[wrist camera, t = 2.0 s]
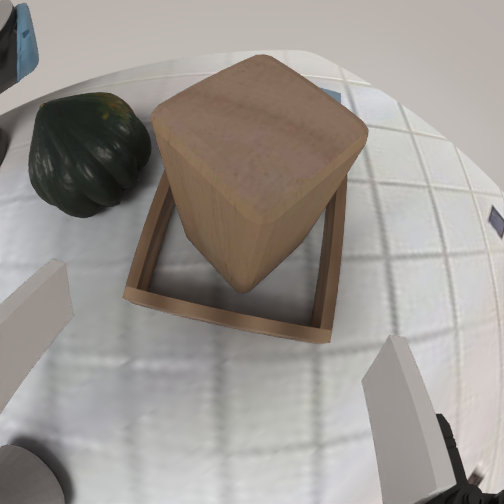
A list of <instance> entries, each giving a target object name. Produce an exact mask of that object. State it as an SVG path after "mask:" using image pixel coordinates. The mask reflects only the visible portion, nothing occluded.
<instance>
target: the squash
mask: <svg viewBox="0 0 504 504" xmlns="http://www.w3.org/2000/svg"><path fill="white" fill-rule="evenodd" d="M150 154H151V140H150V136H149V134H148V132H147V130H146V128H145V126H144V125H143V124H142V122H141V121H140V120H139V119H138V118H137V117H136V116H135V114H134V112H133V110H132V109H131V108H130V106H129V105H128V104H127V103H126V102H125V101H124V100H122V99H121V98H119V97H118V96H116V95H114V94H111V93H104V92H96V93H86V94H79V95H74V96H69V97H64V98H59V99H55V100H52V101H49V102H47V103H43V104H42V105H41V106H40V109H39V111H38V113H37V116H36V119H35V124H34V130H33V136H32V141H31V146H30V153H29V163H28V166H29V176H30V181H31V184H32V186H33V188H34V189H35V191H36V192H37V194H38V195H39V196H40V197H41V198H42V199H43V200H44V201H46V202H47V203H49V204H51V205H54V206H56V207H58V208H59V209H60V210H62V211H63V212H65V213H66V214H68V215H70V216H74V217H79V218H88V217H91V216H93V215H95V214H96V213H98V212H99V211H100V210H101V209H102V208H103V207H104V205H105V206H115V205H118V204H120V202H121V200H122V195H123V193H122V189H128V188H131V187H133V186H134V185H135V184H136V183H137V180H138V172H139V171H140V170H142V169H143V168H144V167H145V166H146V164H147V162H148V160H149V157H150Z"/></svg>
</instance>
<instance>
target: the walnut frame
mask: <svg viewBox="0 0 504 504" xmlns="http://www.w3.org/2000/svg"><path fill="white" fill-rule="evenodd" d="M346 191H347V174H346V176H345V177H344V179H343V181H342V182H341V184H340V185H339V187H338V188H337V190H336V192H335V193H334V195H333V196H332V198H331V199H330V201H329V202H328V204H327V205H326V214H325V224H324V233H323V241H322V249H321V257H320V265H319V273H318V280H317V287H316V294H315V300H314V307H313V313H312V319H311V326H310V327H308V326H302V325H297V324H291V323H286V322H280V321H275V320H270V319H265V318H260V317H255V316H250V315H245V314H240V313H236V312H231V311H226V310H222V309H217V308H213V307H208V306H204V305H200V304H195V303H191V302H187V301H183V300H178V299H174V298H170V297H166V296H162V295H158V294H154V293H151V292H148V290H149V286H150V282H151V279H152V275H153V271H154V268H155V264H156V261H157V257H158V254H159V251H160V247H161V244H162V241H163V237H164V234H165V231H166V228H167V225H168V221H169V218H170V215H171V212H172V209H173V206H174V203H175V200H174V197H173V194H172V191H171V187H170V184H169V181H168V178H167V174H166V171H165V170H164V173H163V175H162V178H161V180H160V183H159V186H158V188H157V191H156V194H155V196H154V199H153V202H152V205H151V207H150V210H149V213H148V216H147V219H146V222H145V225H144V228H143V231H142V234H141V237H140V240H139V243H138V246H137V249H136V252H135V256H134V259H133V262H132V266H131V269H130V272H129V276H128V279H127V283H126V286H125V290H124V294H123V298H124V299H126V300H128V301H130V302H131V303H133V304H136V305H140V306H143V307H147V308H151V309H155V310H158V311H162V312H166V313H170V314H174V315H178V316H182V317H186V318H190V319H194V320H199V321H203V322H207V323H212V324H216V325H221V326H225V327H230V328H235V329H239V330H244V331H249V332H254V333H259V334H264V335H270V336H275V337H280V338H286V339H292V340H298V341H304V342H310V343H316V344H322V343H330V339H331V333H332V327H333V320H334V313H335V306H336V298H337V291H338V282H339V274H340V265H341V255H342V245H343V234H344V221H345V207H346Z"/></svg>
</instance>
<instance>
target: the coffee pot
mask: <svg viewBox="0 0 504 504" xmlns="http://www.w3.org/2000/svg"><path fill="white" fill-rule="evenodd" d="M0 504H65V500H64V494H63V491H62V489H61V486H60V484H59V482H58V480H57V479H56V477H55V475H54V474H53V472H52V471H51V470H50V469H49V467H48V466H47V465H46V464H45V463H44V462H43V461H42V460H41V459H40V458H39V457H37V456H36V455H35V454H33V453H32V452H30V451H29V450H26V449H24V448H22V447H19V446H15V445H5V446H2V447H0Z"/></svg>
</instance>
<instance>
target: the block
mask: <svg viewBox="0 0 504 504" xmlns="http://www.w3.org/2000/svg"><path fill="white" fill-rule="evenodd" d="M151 122H152V126H153V130H154V133H155V137H156V140H157V144H158V147H159V151H160V154H161V158H162V161H163V164H164V168H165V171H166V174H167V178H168V181H169V184H170V187H171V191H172V194H173V197H174V200H175V203H176V206H177V209H178V213H179V216H180V219H181V222H182V225H183V228H184V231H185V234H186V237H187V238H188V239H189V240H190V241H191V243H192V244H193V245H194V246H195V247H196V248H197V249H198V250H199V251H200V253H201V254H202V255H203V256H204V257H205V258H206V259H207V260H208V261H209V262H210V263H211V265H212V266H213V267H214V268H215V269H216V270H217V271H218V272H219V273H220V274H221V275H222V276H223V278H224V279H225V280H226V281H227V282H228V283H229V284H230V285H231V286H232V287H233V288H234V289H235V290H236V291H237V292H240V293H242V294H244V293H247V292H249V291H251V290H252V289H253V288H254V287H255V286H256V285H257V284H258V283H259V282H260V281H261V280H263V279H264V278H265V277H266V276H267V275H268V274H269V273H270V272H271V271H272V270H273V269H274V268H276V267H277V266H278V265H279V264H280V263H281V262H282V261H283V260H284V259H285V258H286V257H287V256H288V255H290V254H291V253H292V252H293V251H294V250H295V249H296V248H297V247H298V246H299V245H300V244H301V243H302V242H303V240H304V239H305V237H306V236H307V234H308V233H309V231H310V230H311V228H312V227H313V225H314V224H315V222H316V221H317V219H318V218H319V216H320V215H321V213H322V212H323V210H324V209H325V207H326V205H327V204H328V202H329V201H330V199H331V198H332V196H333V195H334V193H335V192H336V190H337V188H338V187H339V185H340V184H341V182H342V181H343V179H344V177H345V176H346V174H347V173H348V171H349V170H350V168H351V166H352V165H353V163H354V162H355V160H356V158H357V157H358V155H359V154H360V152H361V150H362V149H363V147H364V146H365V144H366V141H367V137H368V131H369V130H368V128H367V126H366V125H365V123H364V122H363V121H362V120H361V119H360V118H358V117H357V116H356V115H355V114H353V113H352V112H351V111H350V110H348V109H347V108H346V107H344V106H343V105H342V104H341V103H339V102H338V101H337V100H335V99H334V98H333V97H331V96H330V95H329V94H327V93H326V92H324V91H323V90H322V89H320V88H319V87H317V86H316V85H315V84H313V83H312V82H310V81H309V80H307V79H306V78H304V77H303V76H301V75H300V74H298V73H297V72H295V71H294V70H292V69H291V68H289V67H288V66H286V65H285V64H283V63H281V62H280V61H278V60H277V59H275V58H273V57H272V56H268V55H255V56H253V57H250V58H248V59H246V60H244V61H241V62H239V63H237V64H235V65H233V66H231V67H228V68H226V69H224V70H222V71H220V72H218V73H216V74H214V75H212V76H210V77H208V78H206V79H204V80H202V81H200V82H198V83H197V84H195V85H193V86H191V87H189V88H187V89H186V90H184V91H182V92H180V93H178V94H177V95H175V96H173V97H171V98H170V99H168V100H166V101H165V102H163V103H161V104H160V105H158V106H157V108H156V109H155V110H154V111H153V112H152V115H151Z"/></svg>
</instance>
